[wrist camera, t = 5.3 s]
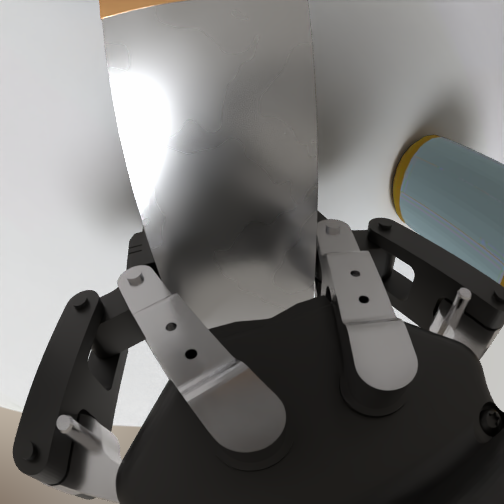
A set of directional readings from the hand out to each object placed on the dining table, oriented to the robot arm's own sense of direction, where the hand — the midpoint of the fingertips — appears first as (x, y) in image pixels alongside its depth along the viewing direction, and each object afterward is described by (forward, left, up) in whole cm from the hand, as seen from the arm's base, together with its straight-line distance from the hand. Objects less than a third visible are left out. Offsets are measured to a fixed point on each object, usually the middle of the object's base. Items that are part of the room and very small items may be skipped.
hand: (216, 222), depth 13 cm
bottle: (-15, +1, -2) cm, 15 cm away
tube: (0, -7, 0) cm, 7 cm away
